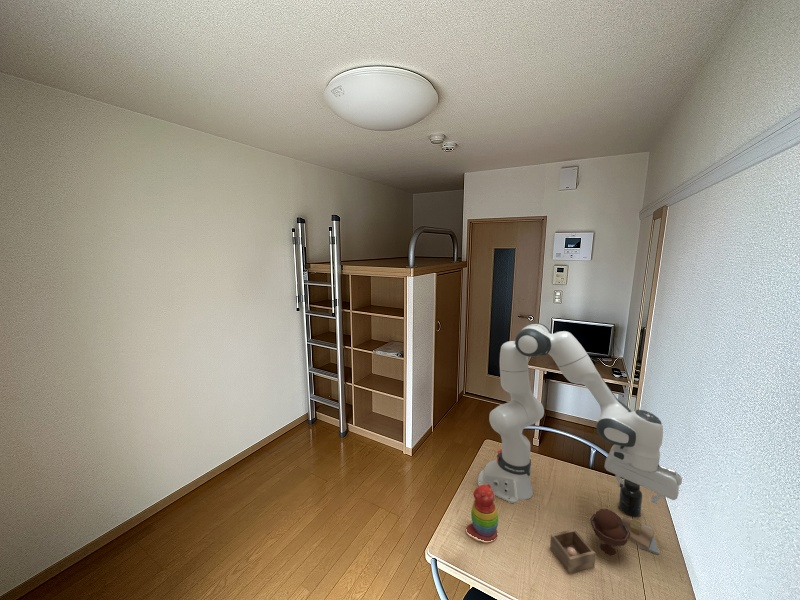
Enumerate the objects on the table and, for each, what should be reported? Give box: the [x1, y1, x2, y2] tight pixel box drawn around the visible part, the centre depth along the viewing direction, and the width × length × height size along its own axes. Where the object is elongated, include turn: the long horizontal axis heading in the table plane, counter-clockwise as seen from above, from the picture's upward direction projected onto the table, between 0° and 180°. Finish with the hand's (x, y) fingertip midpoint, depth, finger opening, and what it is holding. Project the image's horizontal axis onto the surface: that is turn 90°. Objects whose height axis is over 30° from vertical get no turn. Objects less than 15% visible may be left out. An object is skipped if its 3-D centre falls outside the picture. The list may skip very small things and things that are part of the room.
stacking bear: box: [465, 484, 499, 541], centre depth 113 cm, size 11×10×18 cm
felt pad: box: [620, 517, 660, 555], centre depth 111 cm, size 11×11×1 cm
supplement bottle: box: [618, 478, 643, 518], centre depth 121 cm, size 7×7×12 cm
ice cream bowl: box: [589, 508, 630, 557], centre depth 104 cm, size 11×11×15 cm
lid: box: [621, 515, 655, 550], centre depth 111 cm, size 9×9×4 cm
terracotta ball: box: [566, 547, 577, 556], centre depth 103 cm, size 3×3×3 cm
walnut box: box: [549, 528, 596, 575], centre depth 103 cm, size 9×9×6 cm
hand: (637, 494), depth 109 cm, fingers open, 8 cm apart
